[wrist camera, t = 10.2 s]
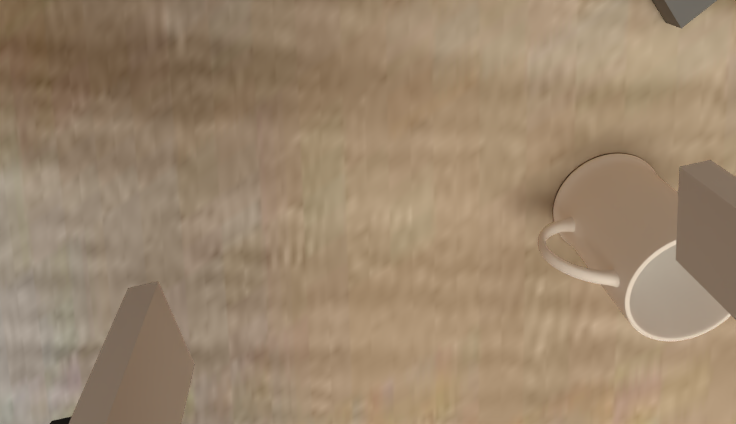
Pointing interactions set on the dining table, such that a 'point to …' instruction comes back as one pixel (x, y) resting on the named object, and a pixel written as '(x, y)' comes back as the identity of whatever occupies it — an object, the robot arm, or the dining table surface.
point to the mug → (630, 246)
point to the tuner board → (681, 10)
